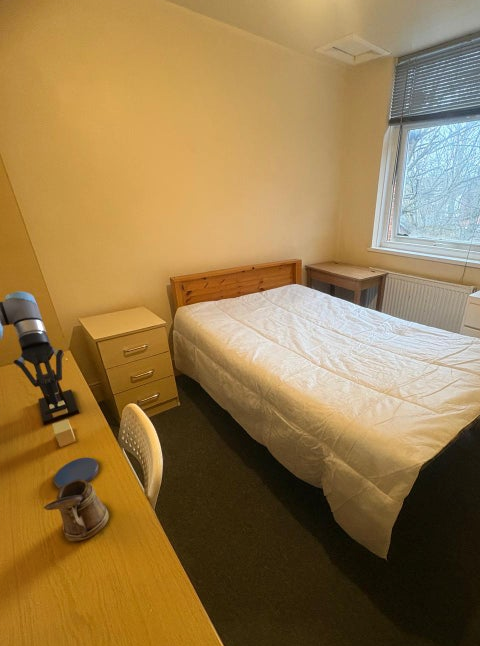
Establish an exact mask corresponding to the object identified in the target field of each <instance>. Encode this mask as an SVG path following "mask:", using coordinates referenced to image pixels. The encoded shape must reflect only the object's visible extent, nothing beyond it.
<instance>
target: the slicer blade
mask: <svg viewBox="0 0 480 646" xmlns="http://www.w3.org/2000/svg"><path fill="white" fill-rule="evenodd" d="M43 376H44V379H45V382H46V384H47V383H51V382H50V379H49V376H48V373H47V372H46V373H43ZM53 406H54V408H52V409H49V410H45V414H46V415H49V414H52V413H55V412H58V411H62V410H65V409H68V408H69V406H68V404H64V405H61V406H58V404H55V405H53Z"/></svg>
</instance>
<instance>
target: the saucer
mask: <svg viewBox="0 0 480 646" xmlns="http://www.w3.org/2000/svg"><path fill="white" fill-rule="evenodd" d="M99 466H100V465H99V464H98V461H97V460H96V459H95V458H93V457H80V458H77V459H74V460H72V461H69V462H67V463H66V464H65V465H63V466H62V467H60V468H59V469H58V471H57V472H56V473H55V475H54V477H53V482H54V484H55V486H56V488H58V489H59V490H60V489H61V488H62V487H63V486H64V485H65V484H67V483H69V482H71V481H74V480H78V479H82V480H86V481H87V482H88V483H89V482H90V481H92V480H93V479H94V478H95V477H96V475H97V473H98V472H99Z"/></svg>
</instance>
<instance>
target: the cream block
mask: <svg viewBox="0 0 480 646" xmlns="http://www.w3.org/2000/svg"><path fill="white" fill-rule="evenodd" d="M58 403H59V404H58V406H61V405H64V404H65V403H64V401H60V402H58ZM49 407H50V409H52V408H54V406H53V405H52V404H50V405H49ZM66 413H68V412H67V409H65V410H62V411H58V412H55V413H52V415H53V417H57V416H60V415H63V414H66Z"/></svg>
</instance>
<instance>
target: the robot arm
mask: <svg viewBox="0 0 480 646" xmlns="http://www.w3.org/2000/svg"><path fill="white" fill-rule="evenodd" d="M10 325H11V326H12V325H13V328H14V332H15V335H16V337H17V339H18V340H17V341H18V343H19V347H20V349H21V353H20V357H19V358H18V359H14V360H13V364H14V365H16V367H18V368H20V369H21V371H22V372H23V373H24V375H25V376H26V378H27V379H28V380H29V382H30V383H31V384H32V386H33V387H35V388H38V387H39V388H40V387H41V388H42V391H43V393H42V395H43V394H44V395H45V396H47V395H49V398H50V401H51V404H52V405H55V404H59V403H58V400H57V397H56V394H57V393H58V392H59V389H58V386H57V382H58V381H59V382H60V381H62V380H63V357H64V355H65V353H64V351H63V349H55V348H54V347H53V346H52V343H51V340H50V338H49V335H48V332H47V330H46V327H45V324H44V321H43V318H42V314H41V311H40V309H39V305H38V304H37V301H36V298H35V296H34V295H33V294H31V293H29V292H27V291H14V292H11V293H8V294H7V295H6V296H5V298H4V300H3V301H0V340H1V339H2V337H3V332H4V326H10ZM53 355H54V356H55V374H56V377H54V374H53V371H52V370H53V369H52V365H51V363H50V361H51V359H52V357H53ZM26 362H28V363H30V364H31V365H33V367H34V370H35V373H36V374H37V376H38V379H39V382H37V381H36V380H37V379H36V378H35V377H34V376H33V374H32V373H31V372H30V370H29V369H28V367H27V366H26V365H25V364H26ZM42 364H44V368H45V371H46V374H47V373H48V376H49V379H50V382H51V383H47V384H46V382H45V379H44V376H43V374H44V373H43V370H42V367H41V365H42ZM42 391H41V392H42ZM44 395H43V396H44Z"/></svg>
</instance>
